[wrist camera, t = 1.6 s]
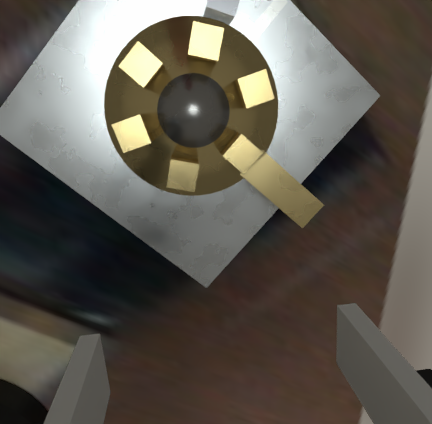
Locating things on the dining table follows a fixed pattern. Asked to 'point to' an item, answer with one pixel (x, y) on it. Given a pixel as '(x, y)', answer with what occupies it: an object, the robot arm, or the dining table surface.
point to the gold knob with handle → (199, 113)
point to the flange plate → (124, 177)
